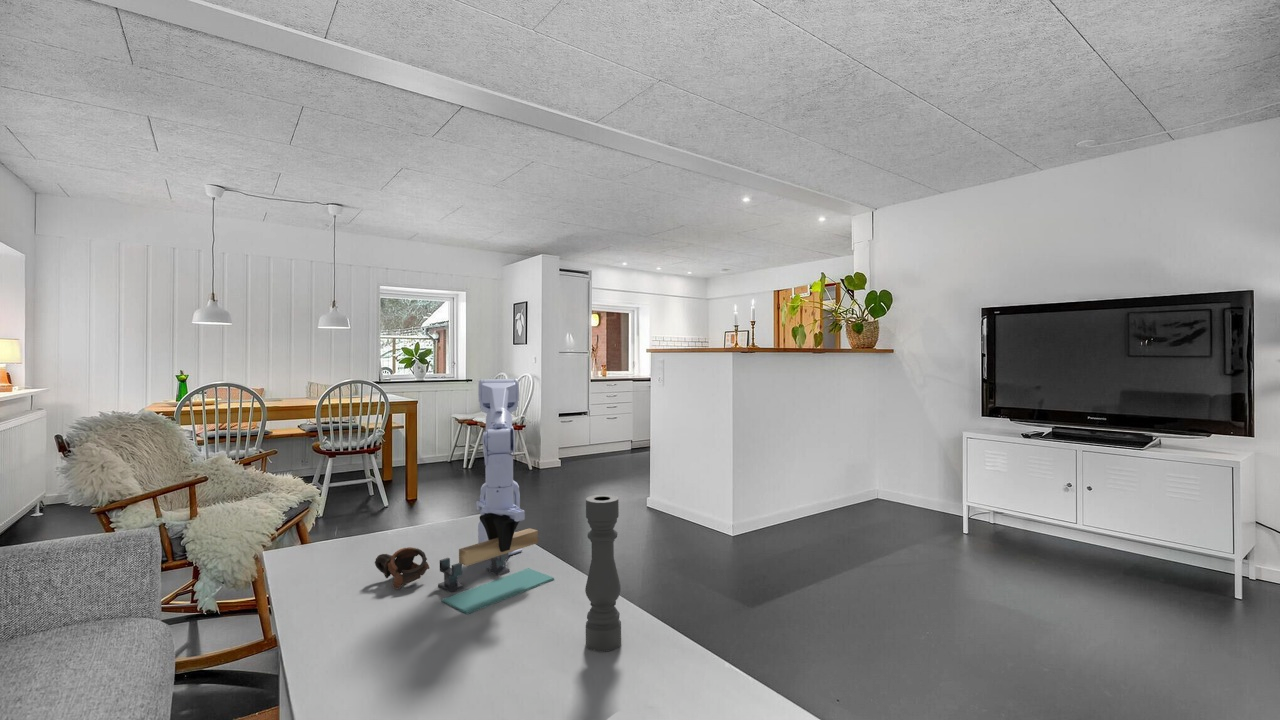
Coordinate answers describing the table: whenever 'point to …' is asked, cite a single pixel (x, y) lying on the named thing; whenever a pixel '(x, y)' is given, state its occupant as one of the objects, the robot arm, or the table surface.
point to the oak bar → (496, 547)
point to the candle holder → (602, 575)
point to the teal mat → (497, 590)
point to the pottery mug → (402, 566)
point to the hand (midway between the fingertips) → (500, 548)
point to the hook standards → (456, 570)
